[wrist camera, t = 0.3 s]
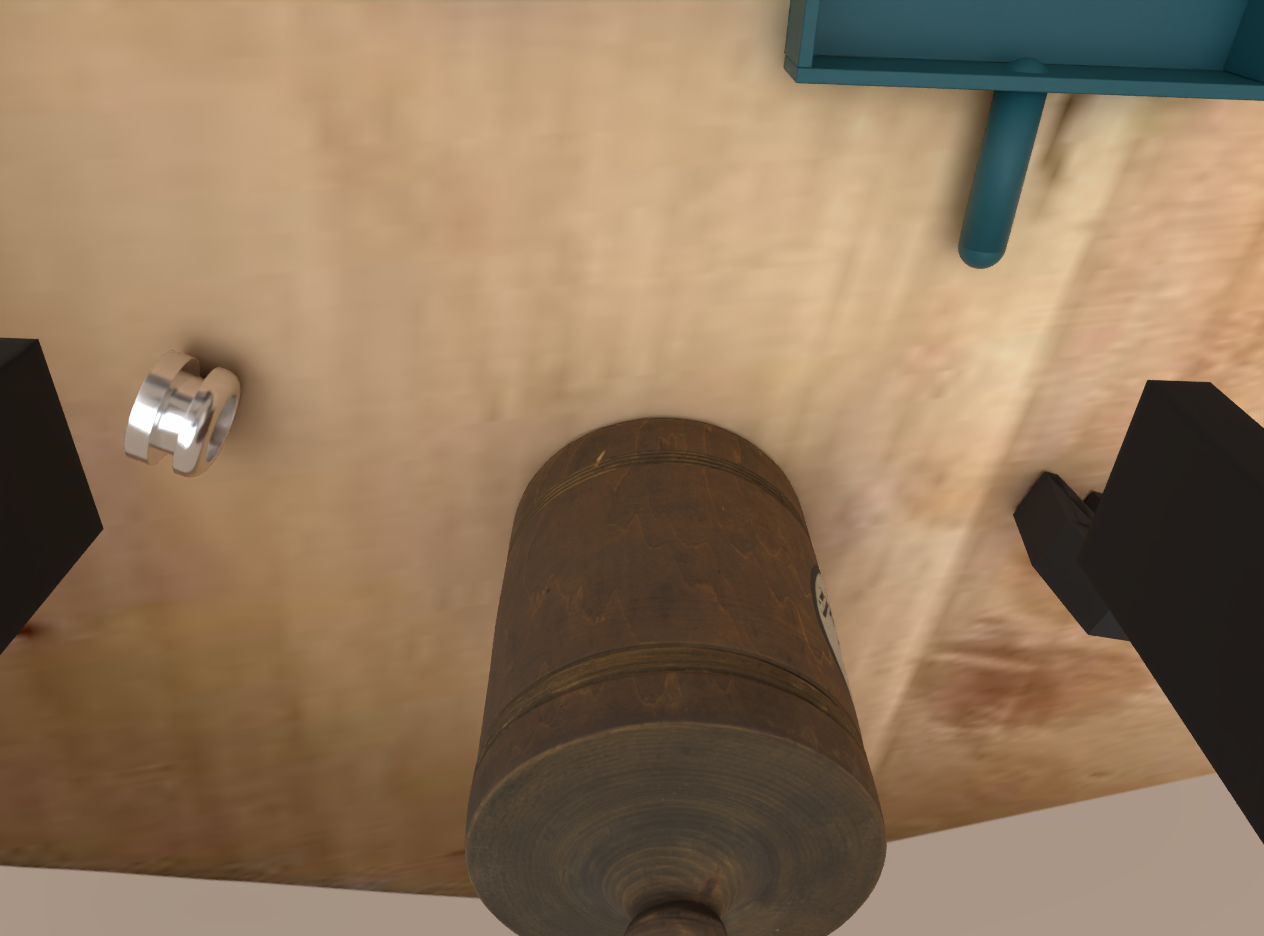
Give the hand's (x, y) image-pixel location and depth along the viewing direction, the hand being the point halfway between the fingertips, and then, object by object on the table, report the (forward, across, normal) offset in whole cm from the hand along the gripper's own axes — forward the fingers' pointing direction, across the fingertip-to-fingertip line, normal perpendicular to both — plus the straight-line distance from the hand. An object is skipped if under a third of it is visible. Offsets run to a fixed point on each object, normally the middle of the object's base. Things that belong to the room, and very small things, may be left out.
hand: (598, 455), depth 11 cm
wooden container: (+27, +3, -22) cm, 35 cm away
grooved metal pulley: (+27, -18, -14) cm, 36 cm away
